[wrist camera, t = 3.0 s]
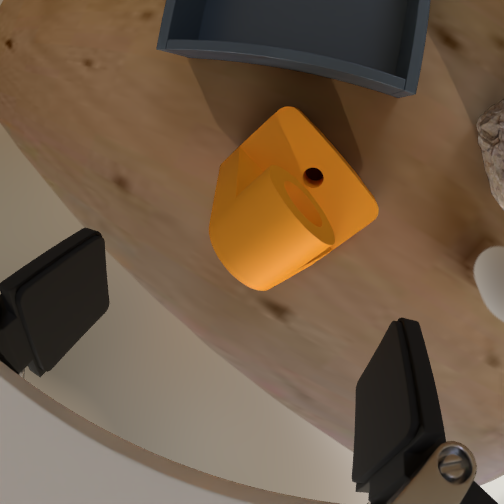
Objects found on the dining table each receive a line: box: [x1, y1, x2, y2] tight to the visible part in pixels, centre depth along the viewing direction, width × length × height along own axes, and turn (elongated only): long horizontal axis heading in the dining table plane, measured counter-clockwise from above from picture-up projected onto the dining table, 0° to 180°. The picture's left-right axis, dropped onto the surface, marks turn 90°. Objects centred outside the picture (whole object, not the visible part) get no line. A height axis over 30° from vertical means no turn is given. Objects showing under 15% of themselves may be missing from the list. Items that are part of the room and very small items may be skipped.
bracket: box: [209, 106, 378, 291], centre depth 20 cm, size 11×7×12 cm, turn 44°
